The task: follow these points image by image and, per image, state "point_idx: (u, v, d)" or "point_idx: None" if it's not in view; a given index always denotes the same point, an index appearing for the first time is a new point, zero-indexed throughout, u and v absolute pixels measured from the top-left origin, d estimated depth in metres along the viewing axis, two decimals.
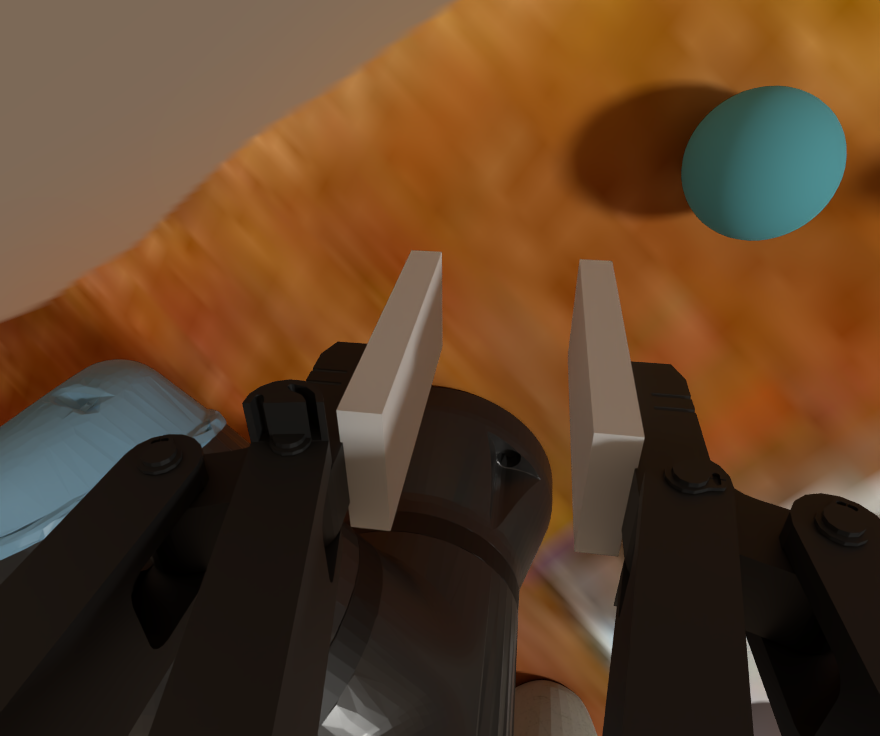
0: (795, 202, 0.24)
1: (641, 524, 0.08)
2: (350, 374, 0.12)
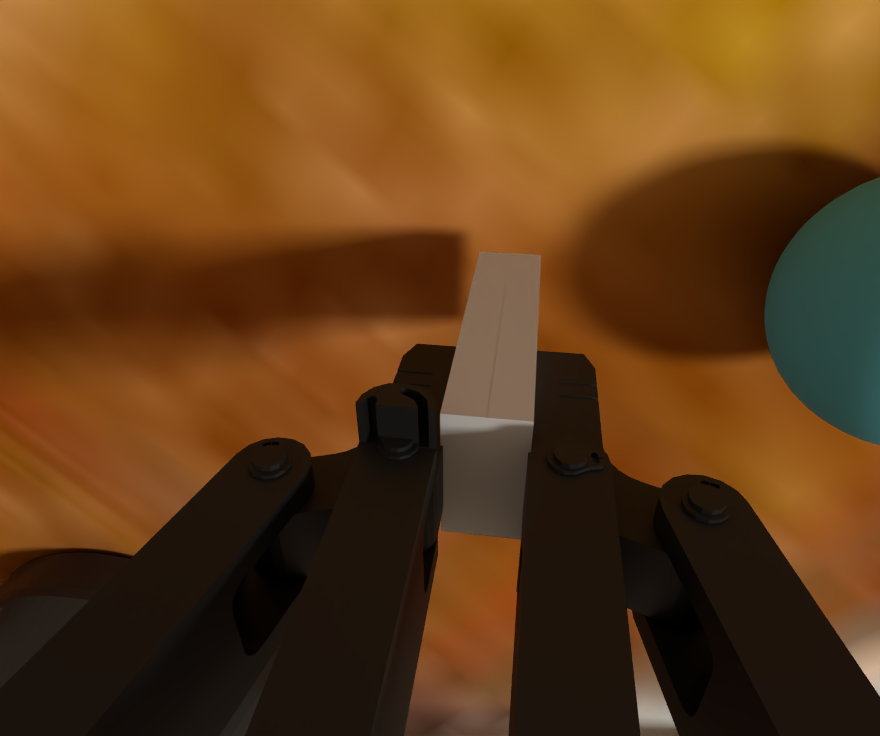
0: None
1: (527, 510, 0.09)
2: (436, 376, 0.12)
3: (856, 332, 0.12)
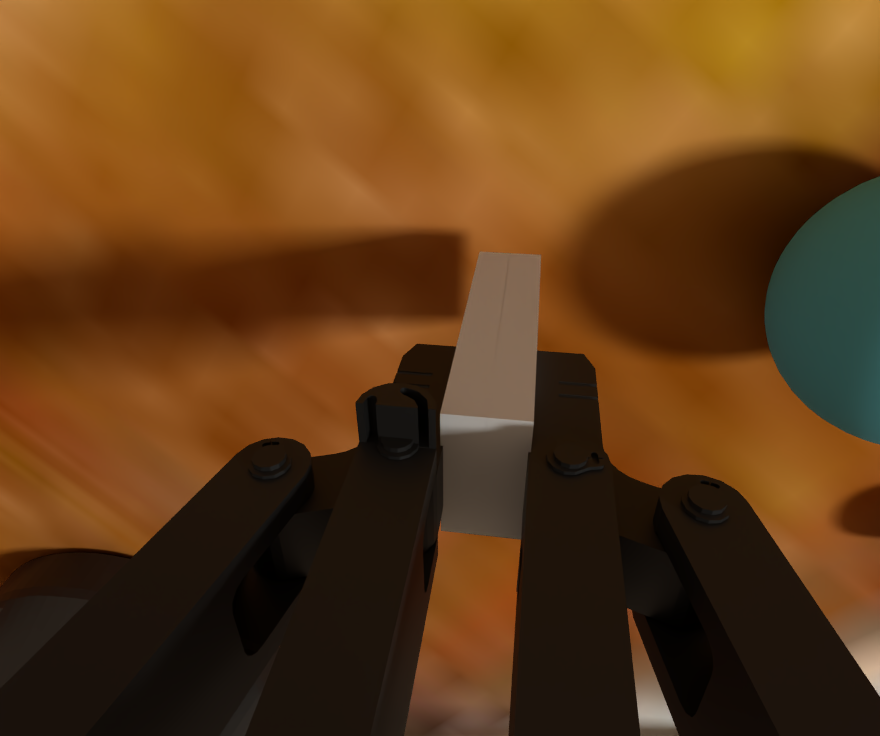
0: None
1: (527, 510, 0.09)
2: (436, 376, 0.12)
3: (857, 330, 0.12)
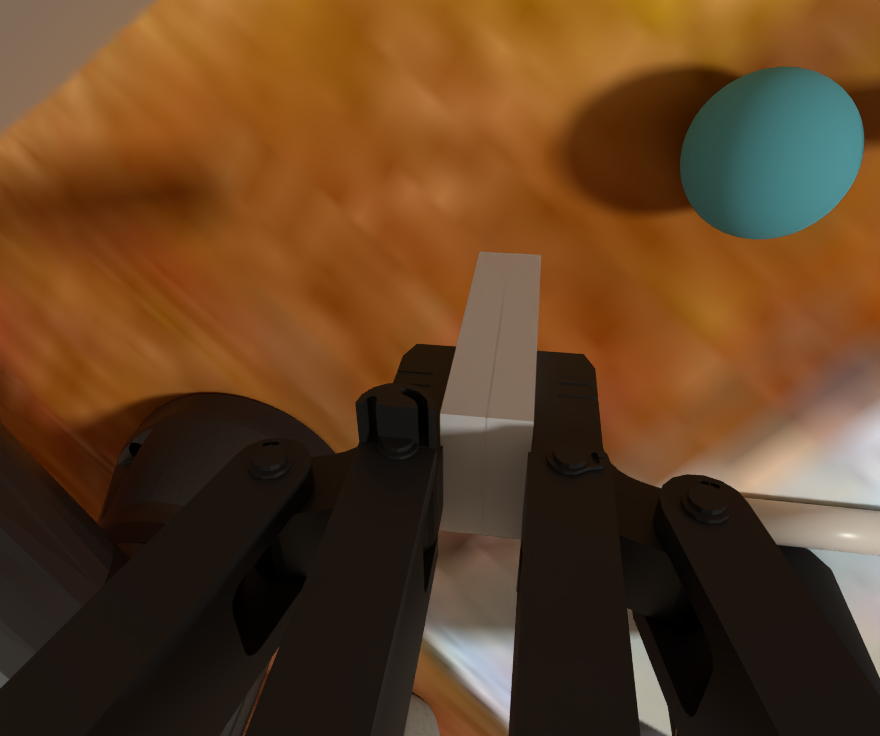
0: None
1: (527, 510, 0.09)
2: (436, 376, 0.12)
3: (719, 156, 0.22)
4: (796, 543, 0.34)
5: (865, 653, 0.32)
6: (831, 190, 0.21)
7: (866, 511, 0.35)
